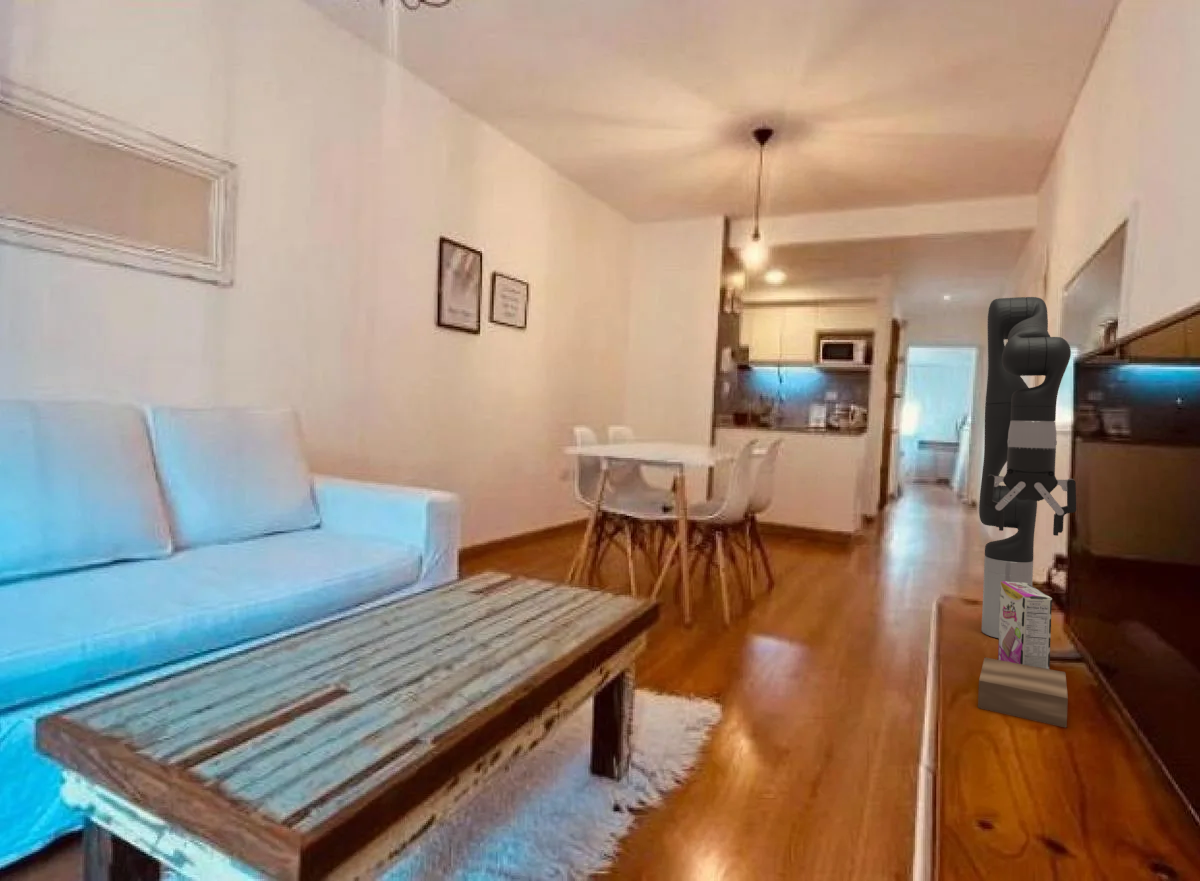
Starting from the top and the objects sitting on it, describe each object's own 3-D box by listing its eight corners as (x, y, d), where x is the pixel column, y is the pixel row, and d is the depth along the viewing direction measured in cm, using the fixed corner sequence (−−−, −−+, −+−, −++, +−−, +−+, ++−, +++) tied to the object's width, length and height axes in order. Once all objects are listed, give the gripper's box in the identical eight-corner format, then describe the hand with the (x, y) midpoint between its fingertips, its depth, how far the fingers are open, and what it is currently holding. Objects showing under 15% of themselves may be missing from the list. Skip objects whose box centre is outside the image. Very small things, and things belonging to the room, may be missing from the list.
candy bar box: (995, 663, 131) (998, 580, 130) (1023, 665, 130) (1027, 582, 129) (1019, 685, 120) (1023, 595, 119) (1050, 688, 119) (1054, 597, 118)
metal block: (983, 684, 121) (984, 657, 121) (1064, 700, 114) (1065, 672, 114) (977, 710, 110) (979, 680, 110) (1066, 730, 103) (1067, 698, 103)
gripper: (1077, 446, 123) (1073, 534, 123) (987, 443, 130) (984, 526, 131) (1080, 447, 116) (1076, 540, 117) (986, 444, 124) (982, 531, 125)
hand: (1027, 532), depth 124 cm, fingers open, 8 cm apart
